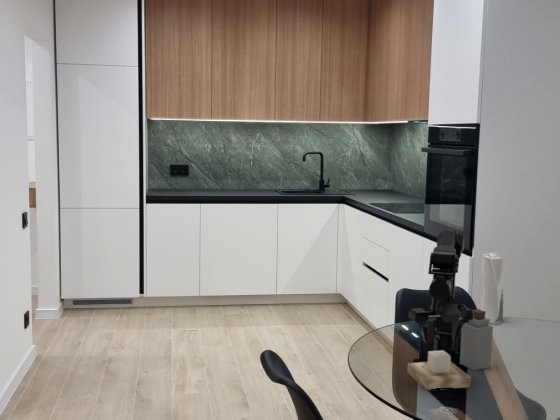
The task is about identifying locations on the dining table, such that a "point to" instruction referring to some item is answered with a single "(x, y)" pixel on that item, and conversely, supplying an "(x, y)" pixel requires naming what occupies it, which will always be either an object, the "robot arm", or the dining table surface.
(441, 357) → the cream cube
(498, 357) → the dining table surface
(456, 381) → the oak base
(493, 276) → the skyscraper
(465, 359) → the perfume bottle
